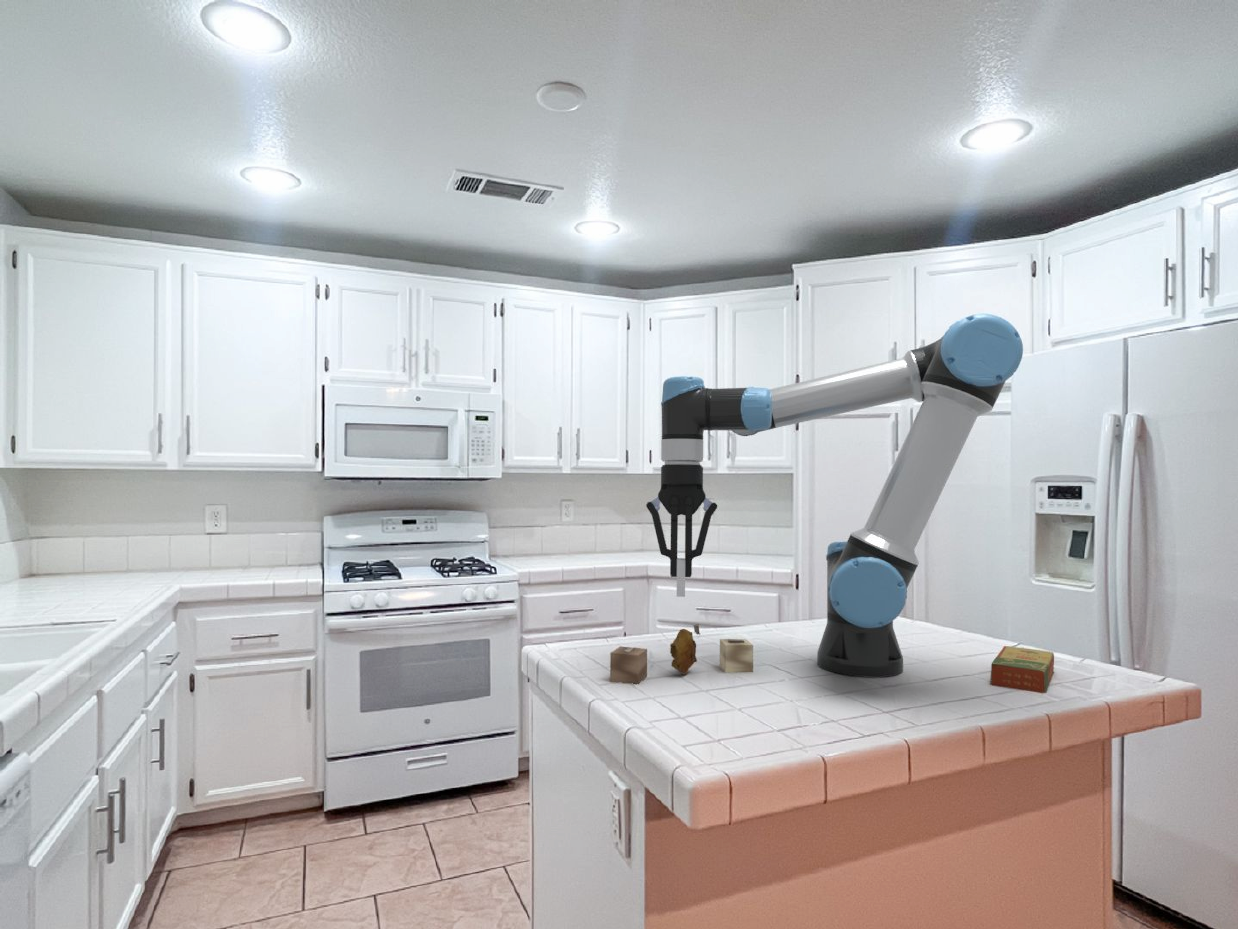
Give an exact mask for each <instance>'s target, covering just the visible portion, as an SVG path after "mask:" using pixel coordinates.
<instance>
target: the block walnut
mask: <svg viewBox="0 0 1238 929" xmlns="http://www.w3.org/2000/svg"><path fill="white" fill-rule="evenodd" d="M609 655H610V658H609V659H610V661H609V664H610V667H609V668H610V671H609V672H610V674H609V677H610V679H609V682H610V683H618V682H622V684H627V683H633V684H632V685H637V684H638V685H639V684H641V683H642V682H643V681H644V680H646V679H647V678H648V648H641V647H631V646H621V645H620V646H619V647H617V648H616V649H614V650H612V651H611V652H610V654H609ZM646 677H647V678H646ZM641 681H642V682H641ZM640 682H641V683H640Z"/></svg>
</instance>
